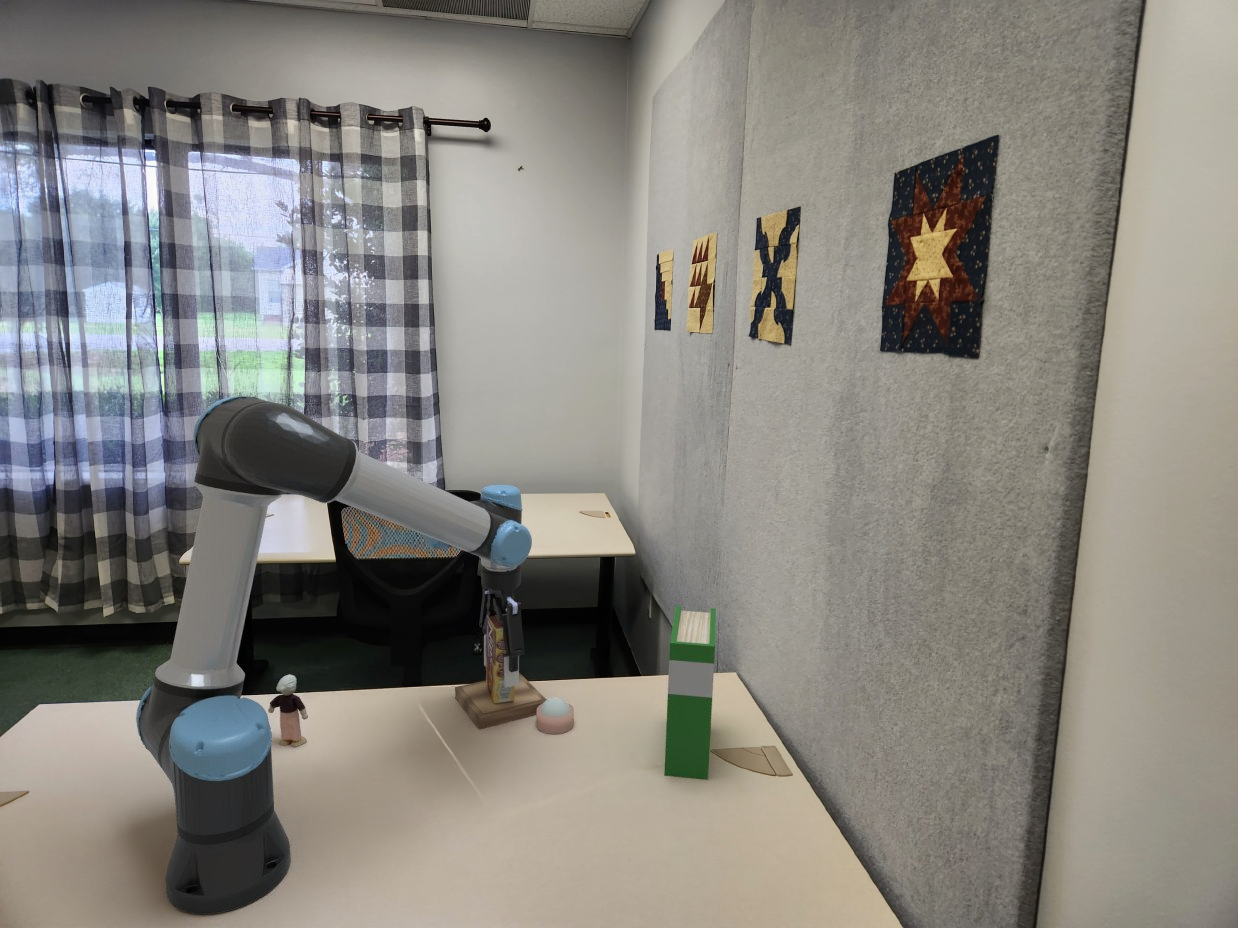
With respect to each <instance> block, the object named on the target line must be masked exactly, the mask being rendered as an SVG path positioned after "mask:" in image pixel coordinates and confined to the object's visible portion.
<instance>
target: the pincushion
mask: <svg viewBox="0 0 1238 928" xmlns="http://www.w3.org/2000/svg"><path fill="white" fill-rule="evenodd" d="M574 712H575V709H574V706H572V704H570V703H568V702H567V701H566V700H565V699H563V698H561V697H556V696H554V697H549V698H548V699H547V700H546V701H545V702H544V703H543V704H541V705H539V706H538V708H537V715H536V723H535V724H536V728H537V729H538V730H539V731H540V732H542V733H544V734H547V735H561V734H565V733H568V732H570V731H571V730H572V729H573V728H574V719H575V716H574V714H575V713H574Z"/></svg>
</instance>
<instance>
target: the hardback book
mask: <svg viewBox="0 0 1238 928" xmlns="http://www.w3.org/2000/svg"><path fill="white" fill-rule="evenodd" d="M716 611H717V609H716V608H715V607H714V608H712V607H711V608H710V612H704V611H691V610H689V611H688V610H682V606H681V605H676V606H675V610H674V617H673V621H672V627H671V634H670V640H669V641H670V642H669V656H668V659H669V661H668V680H667V681H668V683H667V685H668V686H667V700H666V701H667V702H666V703H667V704H666V706H667V707H666V726H665V729H666V730H665V748H664V751H665V752H664V753H665V754H664V777H665V776H666V777H673V778H674V777H675V778H676V777H677V778H684V779H695V780H701V781H703V780H704V781H708V780H709V765H710V764H709V763H710V746H711V729H712V711H713V709H712V708H713V692H714V674H715V656H716V654H715V653H716V625H717V624H716V623H717V619H716V617H717V615H716V614H717V612H716Z"/></svg>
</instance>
